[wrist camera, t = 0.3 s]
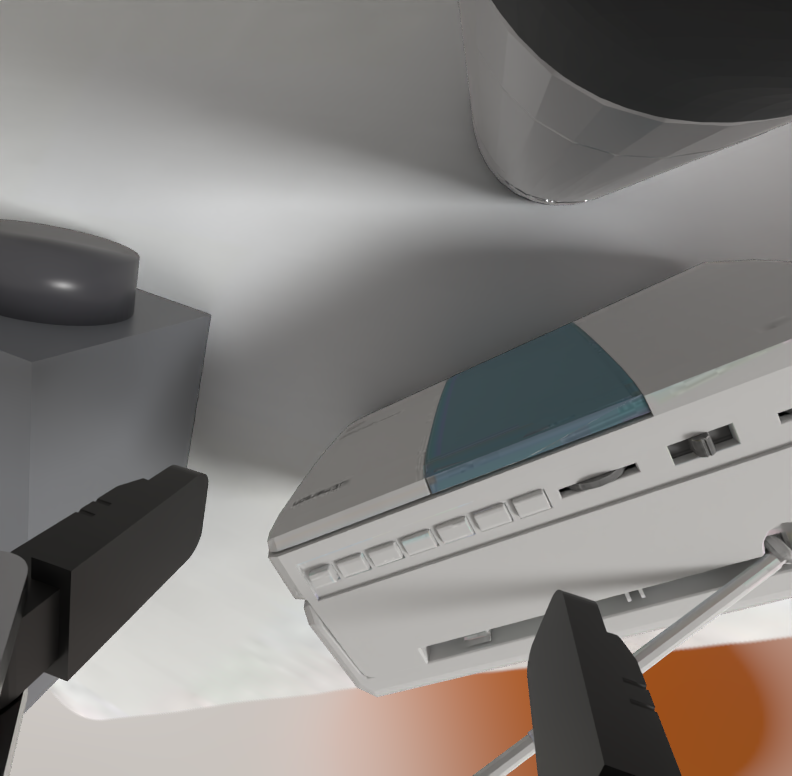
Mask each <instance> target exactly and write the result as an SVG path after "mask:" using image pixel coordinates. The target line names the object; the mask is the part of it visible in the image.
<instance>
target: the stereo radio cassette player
mask: <svg viewBox="0 0 792 776" xmlns="http://www.w3.org/2000/svg"><path fill="white" fill-rule="evenodd" d="M267 542H268V547H269V554H268V558H269V559H270V561H271V563H272V564H273V566H274V567H275V569H276V570H277V572H278V573H279V575H280V577H281V578H282V580H283V581H284V583H285V584H286V586H287V587H288V589H289V591H290V592H291V594H292V595H293V597H294V598H295V599H305V604H304V610H305V613H306V616H307V619H308V623H309V625H310V626H311V628H312V629H313V630H314V632H315V633H316V634H317V636H318V637H319V638H320V640H321V641H322V642H323V643H324V645H325V646H326V647H327V649H328V650H329V651H330V653H331V654H332V655H333V657H334V658H335V659H336V660H337V662H338V663H339V664H340V666H341V667H342V668H343V670H344V671H345V672H346V674H347V675H348V676H349V678H350V679H351V680H352V681H353V683H354V684H355V685H356V687H357V688H359V689H361V690H363V691H366V692H368V693H370V694H372V695H374V696H376V697H379V696H384V695H388V694H392V693H396V692H400V691H405V690H409V689H412V688H417V687H421V686H425V685H430V684H433V683H438V682H442V681H446V680H450V679H454V678H459V677H463V676H467V675H471V674H476V673H480V672H484V671H488V670H492V669H496V668H501V667H505V666H509V665H513V664H517V663H521V662H526V661H528V659H529V653H530V649H531V646H532V643H533V641H534V639H535V636H536V634H537V631H538V629H539V627H540V624H541V622H542V620H543V617H544V615H545V612H546V610H547V608H548V605H549V603H550V601H551V598H552V596H553V594H554V593H555V592H556V591H557V590H562V591H565V592H568V593H571V594H575V595H578V596H581V597H584V598H587V599H590V600H593V601H595V602H596V603H597V605H598V607H599V610H600V613H601V616H602V619H603V622H604V625H605V628H606V631H607V632H609V633H612V634H615V635H618V636H619V637H620V639H622V638H626V637H630V636H634V635H638V634H643V633H647V632H651V631H655V630H659V629H663V628H667V629H665V630H664V631H663V632H661V633H660V634H659V635H657V636H656V637H655V638H653V639H652V640H651V641H649V642H648V643H647V644H645V645H644V646H643V647H641V648H640V649H639V650H637V651H636V652H635V653H633V656H634V657H635V658H636V660H637V662H638V665H639V667H640V670H641V672H642V674H643V673H644V672H645V671H647V670H648V669H649V668H650V667H652V666H653V665H654V664H656V663H657V662H658V661H660V660H661V659H662V658H663V657H665V656H666V655H667V654H669V653H670V652H671V651H673V650H674V649H675V648H677V647H678V646H679V645H681V644H682V643H683V642H685V641H686V640H687V639H689V638H690V637H691V636H693V635H694V634H695V633H697V632H698V631H699V630H700V629H702V628H703V627H704V626H706V625H707V624H708V623H710V622H711V621H712V620H714V619H715V618H716V617H718V616H719V615H722V614H726V613H730V612H734V611H739V610H743V609H747V608H751V607H755V606H759V605H764V604H768V603H772V602H776V601H780V600H784V599H789V598H792V262H787V261H773V260H756V259H753V260H738V261H720V262H703V263H701V264H699V265H697V266H694V267H692V268H690V269H688V270H686V271H683V272H681V273H679V274H677V275H675V276H672V277H670V278H668V279H666V280H664V281H662V282H659V283H657V284H655V285H653V286H651V287H648V288H646V289H644V290H642V291H640V292H637V293H635V294H633V295H631V296H629V297H626V298H624V299H622V300H620V301H618V302H615V303H613V304H611V305H609V306H607V307H604V308H602V309H600V310H598V311H596V312H593V313H591V314H589V315H587V316H585V317H583V318H580V319H578V320H576V321H574V322H572V323H569V324H567V325H565V326H563V327H561V328H558V329H556V330H554V331H552V332H550V333H547V334H545V335H543V336H541V337H538V338H536V339H534V340H532V341H530V342H527V343H525V344H523V345H521V346H519V347H516V348H514V349H512V350H510V351H508V352H505V353H503V354H501V355H499V356H497V357H494V358H492V359H490V360H488V361H486V362H483V363H481V364H479V365H477V366H475V367H472V368H470V369H468V370H466V371H464V372H461V373H459V374H457V375H455V376H453V377H450V378H449V379H446V380H444V381H442V382H439V383H437V384H435V385H433V386H431V387H428V388H426V389H424V390H422V391H420V392H417V393H415V394H413V395H411V396H409V397H406V398H404V399H402V400H400V401H398V402H395V403H393V404H391V405H389V406H387V407H384V408H382V409H380V410H378V411H376V412H373V413H371V414H369V415H367V416H365V417H363V418H361V419H359V420H357V421H355V422H353V423H352V424H351V425H349V426H348V427H347V428H346V429H345V430H344V431H343V432H342V433H341V434H340V435H339V436H338V437H337V438H336V440H335V441H334V442H333V443H332V444H331V445H330V446H329V447H328V449H327V450H326V451H325V452H324V453H323V455H322V456H321V457H320V458H319V460H318V461H317V462H316V464H315V465H314V466H313V468H312V469H311V470H310V472H309V473H308V474H307V476H306V477H305V478H304V480H303V481H302V482H301V484H300V485H299V487H298V488H297V489H296V491H295V492H294V494H293V495H292V497H291V498H290V500H289V501H288V502H287V504H286V505H285V507H284V508H283V510H282V511H281V513H280V514H279V516H278V518H277V520H276V521H275V523H274V525H273V527H272V529H271V531H270V533H269V537H268V541H267ZM534 753H536V752H535V743H534V734H533V729H532V730H531V731H529V732H528V735H526V736H525V737H524V738H522V739H521V740H520V741H518V742H517V743H516V744H514V745H513V746H512V747H510V748H509V749H508V750H506V751H505V752H504V753H502V754H501V755H500V756H498V757H497V758H496V759H494V760H493V761H492V762H490V763H489V764H488V765H486V766H485V767H484V768H482V769H481V770H480V771H478V772H477V773H476V774H474V775H473V776H506V775H507V774H508V773H510V772H511V771H512V770H514V769H515V768H516V767H517V766H519V765H520V764H521V763H523V762H524V761H525V760H527V759H528V758H529V757H531V756H532V755H533V754H534Z"/></svg>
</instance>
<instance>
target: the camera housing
mask: <svg viewBox="0 0 792 776" xmlns="http://www.w3.org/2000/svg"><path fill="white" fill-rule="evenodd" d="M139 258H140V257H139V255H138V254H137V253H136V252H135V251H134V250H132V249H130V248H128V247H126V246H124V245H121V244H119V243H116V242H114V241H111V240H108V239H105V238H101V237H98V236H94V235H91V234H87V233H83V232H79V231H74V230H70V229H65V228H60V227H55V226H50V225H44V224H38V223H31V222H23V221H15V220H4V219H0V551H5V552H11V551H13V550H14V549H16V548H18V547H19V546H21V545H22V544H24V543H26V542H27V541H29V540H31V539H32V538H34V537H35V536H37V535H39V534H40V533H42V532H44V531H45V530H47V529H48V528H50V527H52V526H53V525H55V524H57V523H58V522H60V521H61V520H63V519H65V518H66V517H68V516H70V515H71V514H73V513H74V512H79V511H80V509H81V508H83V507H84V506H86V505H87V504H89V503H91V502H92V501H95V502H96V500H97V498H99V497H100V496H102V495H104V494H105V493H107V492H109V491H110V490H112V489H113V488H115V487H117V486H119V485H122V484H126V483H129V482H132V481H135V480H139V479H142V478H144V479H147V480H149V479H151V478H152V477H154V476H155V475H157V474H158V473H160V472H161V471H163V470H164V469H166V468H168V467H169V466H171V465H178V466H181V467H184V468H186V467H187V461H188V455H189V449H190V442H191V436H192V430H193V424H194V418H195V411H196V405H197V399H198V393H199V387H200V380H201V374H202V368H203V362H204V355H205V349H206V343H207V337H208V331H209V324H210V318H211V315H210V314H208V313H205V312H202V311H199V310H196V309H193V308H191V307H188V306H185V305H182V304H179V303H176V302H174V301H171V300H168V299H165V298H162V297H159V296H157V295H154V294H151V293H148V292H145V291H142V290H139V289H137V288H136V287H137V277H138V268H139ZM57 680H58V677H55V676H52V675H50V674H47V673H45V672H44V673H43V674H42V675H40V676H39V677H38V678H37V679H36V680H35V681H34V682H33V683H32V684H31V685H30V686H29V687H28V695H27V701H26V706H25V710H24V713H25V712H26V711H27V710H28V709H29V708H30V707H31V706H32V705H33V704H34V703H35V702H36V701H37V700H38V699H39V698H40V697H41V696H42V695H43V694H44V693H45V691H47V689H49V688H50V687H51V686H52V685H53V684H54V683H55V682H56V681H57Z"/></svg>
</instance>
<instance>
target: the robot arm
mask: <svg viewBox="0 0 792 776" xmlns="http://www.w3.org/2000/svg"><path fill="white" fill-rule="evenodd" d="M458 3H459V11H460V19H461V28H462V36H463V44H464V52H465V61H466V69H467V77H468V85H469V95H470V104H471V112H472V120H473V128H474V132H475V136H476V140H477V143H478V147H479V150H480V152H481V154H482V156H483V158H484V160H485V162H486V164H487V166H488V167H489V169H490V170H491V171H492V172H493V173H494V175H495V176H496V177H497V178H498V179H499V181H500V182H501V183H503V184H504V185H505V186H507V187H508V188H509V189H510V190H512V191H513V192H514V193H516V194H518V195H520V196H522V197H525V198H527V199H529V200H531V201H534V202H539V203H544V204H550V205H572V204H577V203H581V202H587V201H590V200H594V199H596V198H599V197H601V196H604V195H607V194H609V193H612V192H615V191H618V190H620V189H623V188H625V187H628V186H630V185H633V184H636V183H638V182H641V181H643V180H646V179H648V178H651V177H653V176H656V175H659V174H661V173H664V172H666V171H669V170H671V169H674V168H677V167H679V166H682V165H684V164H687V163H689V162H692V161H694V160H697V159H700V158H702V157H705V156H707V155H710V154H712V153H715V152H717V151H720V150H723V149H725V148H728V147H730V146H733V145H735V144H738V143H740V142H743V141H746V140H748V139H751V138H753V137H756V136H758V135H761V134H763V133H766V132H768V131H770V130H772V129H775V128H777V127H780V126H782V125H785V124H788V123H790V122H792V0H458ZM207 489H208V477H207V475H206V474H203V473H200V472H197V471H194V470H191V469H187V468H184V467H181V466H178V465H171V466H169V467H168V468H166V469H164V470H163V471H161V472H160V473H158V474H157V475H155V476H154V477H152V478H151V479H149V480H147V479H144V478H142V479H139V480H135V481H132V482H129V483H126V484H122V485H119V486H117V487H115V488H113V489H112V490H110V491H109V492H107V493H105V494H104V495H102V496H100V497H99V498H97V500H96V502H95V501H92V502H91V503H89V504H87V505H86V506H84V507H83V508H81V509H80V511H79V512H74V513H73V514H71V515H70V516H68V517H66V518H65V519H63V520H61V521H60V522H58V523H57V524H55V525H53V526H52V527H50V528H48V529H47V530H45V531H44V532H42V533H40V534H39V535H37V536H35V537H34V538H32V539H31V540H29V541H27V542H26V543H24V544H22V545H21V546H19V547H18V548H16V549H14V550H13V551H11V552H5V551H0V776H9V775H10V771H11V767H12V762H13V758H14V753H15V749H16V744H17V740H18V736H19V732H20V727H21V723H22V718H23V714H24V710H25V706H26V701H27V695H28V687H29V686H30V685H31V684H32V683H33V682H34V681H35V680H36V679H37V678H38V677H39V676H40V675H42V674H43V673H44V672H45V673H47V674H50V675H52V676H55V677H58V678H60V679H63V680H65V681H68V680H69V679H70V678H71V677H72V676H73V675H74V674H75V673H76V672H77V671H78V670H79V669H80V668H81V667H82V666H83V665H84V664H85V663H86V662H87V661H88V660H89V659H90V658H91V657H92V656H93V655H94V654H95V653H96V652H97V651H98V650H99V649H100V648H101V647H102V646H103V645H104V644H105V643H106V642H107V641H108V640H109V639H110V638H111V637H112V636H113V635H114V634H115V633H116V632H117V631H118V630H119V629H120V628H121V627H122V626H123V625H124V624H125V623H126V622H127V621H128V620H129V619H130V618H131V617H132V616H133V615H134V613H135V612H136V611H137V610H138V609H139V608H140V607H141V606H142V605H143V604H144V603H145V602H146V601H147V600H148V599H149V598H150V597H151V596H152V595H153V594H154V593H155V592H156V591H157V590H158V589H159V588H160V587H161V586H162V585H163V584H164V583H165V582H166V581H167V580H168V579H169V578H170V577H171V576H172V575H173V574H174V573H175V572H176V571H177V570H178V569H179V568H180V567H181V566H182V565H183V564H184V563H185V562H186V561H187V560H188V559H189V558H190V556H191V555H192V553H193V552H194V550H195V548H196V546H197V544H198V542H199V540H200V537H201V533H202V527H203V519H204V512H205V504H206V497H207ZM527 678H528V688H529V697H530V706H531V714H532V725H533V734H534V743H535V752H536V762H537V770H538V776H681V773H680V770H679V768H678V765H677V763H676V760H675V758H674V755H673V752H672V750H671V748H670V745H669V742H668V740H667V737H666V734H665V732H664V729H663V727H662V724H661V721H660V719H659V716H658V714H657V712H655V711H654V708H655V706H654V703H653V701H652V698H651V696H650V693H649V691H648V690H646V683H645V680H644V678H643V675H642V672H641V670H640V667H639V665H638V662H637V660H636V658H635V657H634V656H633V654H632V653H631V652H630V650H629V649H628V648H627V647H626V645H625V644H624V643H623V641H622V640H621V639H620V637H619V636H618V635H615V634H612V633H609V632H607V631H606V628H605V625H604V622H603V619H602V616H601V613H600V610H599V607H598V605H597V603H596V602H595V601H593V600H590V599H587V598H584V597H581V596H578V595H575V594H571V593H568V592H565V591H562V590H557V591H556V592H555V593H554V594H553V596H552V598H551V601H550V603H549V605H548V608H547V610H546V612H545V615H544V617H543V620H542V622H541V624H540V627H539V629H538V631H537V634H536V636H535V639H534V641H533V643H532V646H531V649H530V653H529V659H528V668H527Z"/></svg>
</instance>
